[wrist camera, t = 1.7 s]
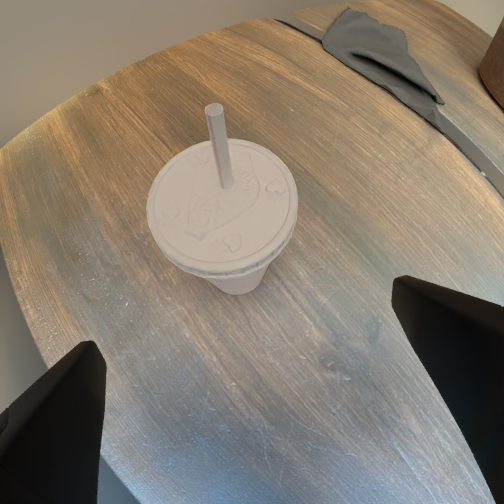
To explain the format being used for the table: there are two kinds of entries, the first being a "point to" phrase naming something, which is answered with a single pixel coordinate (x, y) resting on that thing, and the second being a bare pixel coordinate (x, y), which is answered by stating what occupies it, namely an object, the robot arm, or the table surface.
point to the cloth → (383, 60)
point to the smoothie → (223, 208)
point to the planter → (494, 66)
